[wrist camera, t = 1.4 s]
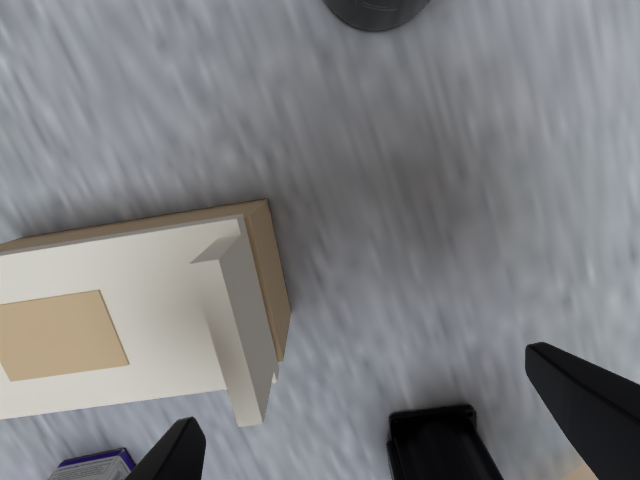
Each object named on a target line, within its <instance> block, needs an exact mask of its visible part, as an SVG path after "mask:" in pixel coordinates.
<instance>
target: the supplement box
mask: <svg viewBox="0 0 640 480" xmlns="http://www.w3.org/2000/svg"><path fill="white" fill-rule="evenodd" d="M134 468H135V466H134V464H133V462H132V461H131V459H130V457H129V456H128V454H127V452H126V451H125V449H118V450H113V451H109V452H105V453H100V454H96V455H91V456H86V457H81V458H76V459H71V460H67V461H64V462H62V463H61V464H60V465H59V466H58V468H57V469H56V470H55V471H54V472H53V474H52V475H51V476H50V477H49V478H48V480H124V479H125V478H126V477H127V476H128V475H129V473H130V472H131V471H132V470H133V469H134Z"/></svg>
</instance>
